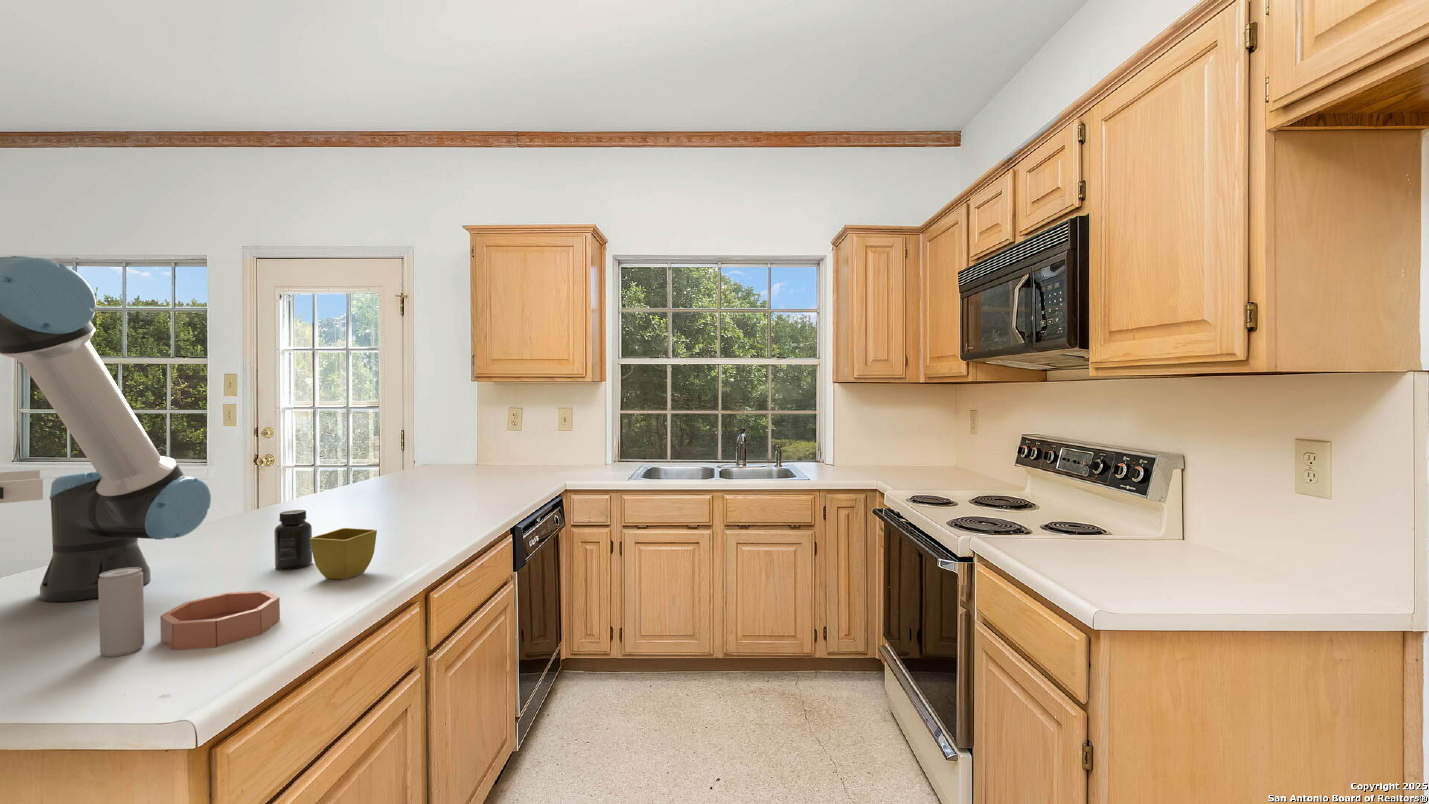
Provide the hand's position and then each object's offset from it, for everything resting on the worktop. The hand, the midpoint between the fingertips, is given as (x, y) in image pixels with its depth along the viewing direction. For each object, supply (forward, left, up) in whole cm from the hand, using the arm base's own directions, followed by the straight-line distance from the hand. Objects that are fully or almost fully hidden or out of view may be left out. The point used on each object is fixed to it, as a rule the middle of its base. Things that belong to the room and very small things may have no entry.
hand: (41, 483), depth 85 cm
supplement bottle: (+10, +48, -26) cm, 55 cm away
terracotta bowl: (+16, +11, -26) cm, 32 cm away
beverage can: (+6, +5, -26) cm, 27 cm away
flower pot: (+24, +38, -26) cm, 52 cm away
